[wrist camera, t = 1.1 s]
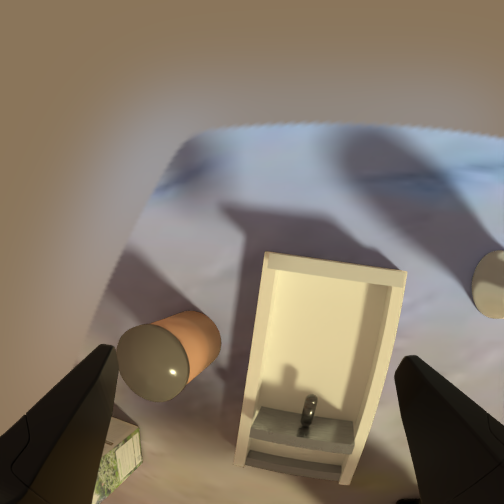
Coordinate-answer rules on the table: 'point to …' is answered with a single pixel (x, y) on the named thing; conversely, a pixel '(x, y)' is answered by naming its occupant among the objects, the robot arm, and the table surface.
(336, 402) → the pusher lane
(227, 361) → the table surface
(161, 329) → the terracotta jar
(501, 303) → the beer glass
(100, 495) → the syrup box
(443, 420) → the robot arm
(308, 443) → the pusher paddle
